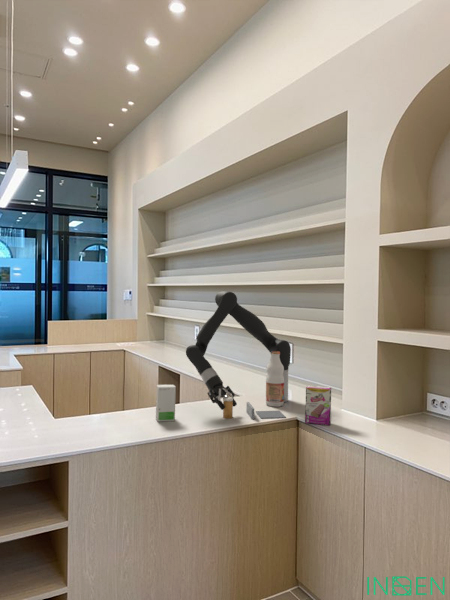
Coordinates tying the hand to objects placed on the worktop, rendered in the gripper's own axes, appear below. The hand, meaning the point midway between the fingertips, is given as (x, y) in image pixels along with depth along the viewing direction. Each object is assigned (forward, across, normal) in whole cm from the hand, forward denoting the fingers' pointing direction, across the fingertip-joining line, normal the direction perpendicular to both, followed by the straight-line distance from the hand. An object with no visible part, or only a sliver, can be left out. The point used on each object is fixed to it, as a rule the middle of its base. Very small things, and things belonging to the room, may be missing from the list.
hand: (229, 407), depth 208 cm
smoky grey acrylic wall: (+7, +9, 0) cm, 12 cm away
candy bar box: (+29, +20, -21) cm, 41 cm away
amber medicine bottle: (+3, 0, +4) cm, 5 cm away
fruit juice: (+5, +35, +2) cm, 35 cm away
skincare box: (-10, -22, +18) cm, 30 cm away
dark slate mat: (+12, +17, -5) cm, 21 cm away
